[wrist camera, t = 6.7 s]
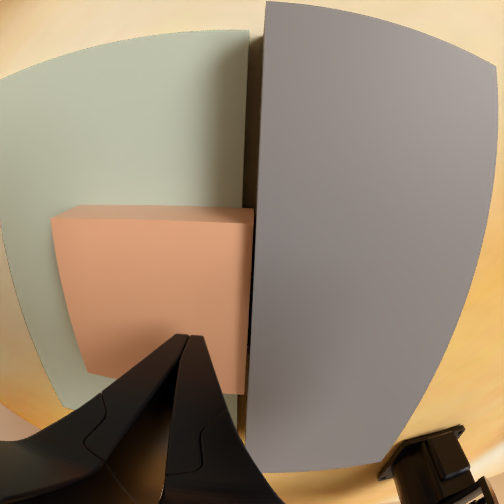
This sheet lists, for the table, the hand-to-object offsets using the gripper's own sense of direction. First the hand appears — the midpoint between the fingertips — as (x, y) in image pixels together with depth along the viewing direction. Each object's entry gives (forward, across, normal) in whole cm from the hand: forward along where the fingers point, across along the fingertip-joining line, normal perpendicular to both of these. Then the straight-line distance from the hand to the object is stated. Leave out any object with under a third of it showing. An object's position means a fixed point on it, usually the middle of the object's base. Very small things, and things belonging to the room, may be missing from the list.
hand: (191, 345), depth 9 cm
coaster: (+3, +2, 0) cm, 4 cm away
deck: (+4, -6, 0) cm, 7 cm away
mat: (+4, +5, 0) cm, 6 cm away
